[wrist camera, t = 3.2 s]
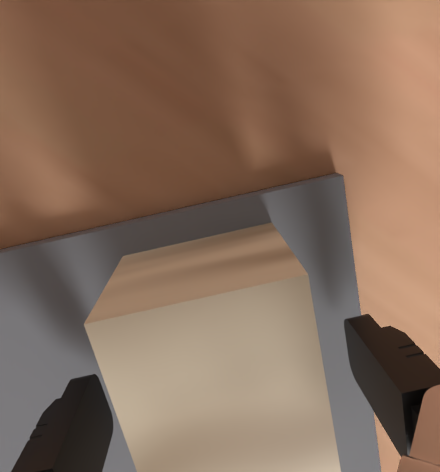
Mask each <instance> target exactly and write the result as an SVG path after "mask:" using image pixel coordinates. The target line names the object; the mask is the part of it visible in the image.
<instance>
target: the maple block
mask: <svg viewBox="0 0 440 472" xmlns="http://www.w3.org/2000/svg"><path fill="white" fill-rule="evenodd" d="M84 326H85V329H86V332H87V335H88V337H89V340H90V343H91V346H92V349H93V351H94V354H95V357H96V360H97V362H98V365H99V368H100V371H101V373H102V376H103V379H104V382H105V384H106V387H107V390H108V393H109V396H110V398H111V401H112V404H113V407H114V409H115V412H116V415H117V418H118V420H119V423H120V426H121V429H122V431H123V434H124V437H125V440H126V443H127V445H128V448H129V451H130V454H131V456H132V459H133V462H134V465H135V467H136V470H137V472H341V468H340V462H339V456H338V450H337V444H336V438H335V433H334V427H333V421H332V415H331V409H330V403H329V397H328V391H327V385H326V379H325V373H324V367H323V361H322V355H321V349H320V343H319V337H318V331H317V325H316V319H315V313H314V307H313V301H312V295H311V289H310V283H309V277H308V273H307V272H306V271H305V269H304V268H303V266H302V265H301V263H300V262H299V261H298V259H297V258H296V256H295V255H294V253H293V252H292V251H291V249H290V248H289V246H288V245H287V243H286V242H285V241H284V239H283V238H282V236H281V235H280V233H279V232H278V231H277V229H276V228H275V226H274V225H273V223H267V224H263V225H258V226H254V227H249V228H245V229H241V230H236V231H232V232H227V233H223V234H218V235H214V236H210V237H205V238H201V239H196V240H192V241H187V242H183V243H179V244H174V245H170V246H165V247H161V248H156V249H152V250H148V251H143V252H139V253H134V254H130V255H125V256H123V257H122V258H121V260H120V262H119V264H118V265H117V267H116V269H115V271H114V272H113V274H112V276H111V278H110V279H109V281H108V283H107V285H106V286H105V288H104V290H103V292H102V293H101V295H100V297H99V299H98V300H97V302H96V304H95V306H94V307H93V309H92V311H91V312H90V314H89V316H88V318H87V319H86V321H85V323H84Z"/></svg>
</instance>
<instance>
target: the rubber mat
mask: <svg viewBox="0 0 440 472" xmlns="http://www.w3.org/2000/svg"><path fill="white" fill-rule="evenodd" d="M267 223H273V225H274V226H275V228H276V229H277V231H278V232H279V233H280V235H281V236H282V238H283V239H284V241H285V242H286V243H287V245H288V246H289V248H290V249H291V251H292V252H293V253H294V255H295V256H296V258H297V259H298V261H299V262H300V263H301V265H302V266H303V268H304V269H305V271H306V272H307V273H308V277H309V283H310V289H311V295H312V301H313V307H314V313H315V319H316V325H317V331H318V337H319V343H320V349H321V355H322V361H323V367H324V373H325V379H326V385H327V391H328V397H329V403H330V409H331V415H332V421H333V427H334V433H335V438H336V444H337V450H338V456H339V462H340V468H341V472H381V466H380V459H379V451H378V443H377V435H376V428H375V420H374V412H373V409H372V407H371V406H370V404H369V402H368V401H367V399H366V397H365V396H364V394H363V392H362V391H361V389H360V387H359V386H358V384H357V382H356V380H355V378H354V376H353V373H352V370H351V367H350V363H349V357H348V350H347V343H346V336H345V329H344V320H345V319H347V318H352V317H356V316H361V311H360V303H359V295H358V288H357V280H356V272H355V264H354V257H353V249H352V241H351V233H350V225H349V218H348V210H347V202H346V194H345V187H344V179H343V175H341V174H338V173H335V174H330V175H326V176H321V177H317V178H313V179H308V180H304V181H299V182H295V183H291V184H286V185H282V186H277V187H273V188H269V189H264V190H260V191H255V192H251V193H247V194H242V195H238V196H233V197H229V198H225V199H220V200H216V201H211V202H207V203H202V204H198V205H194V206H189V207H185V208H180V209H176V210H172V211H167V212H163V213H158V214H154V215H150V216H145V217H141V218H136V219H132V220H128V221H123V222H119V223H114V224H110V225H106V226H101V227H97V228H92V229H88V230H84V231H79V232H75V233H70V234H66V235H62V236H57V237H53V238H48V239H44V240H40V241H35V242H31V243H26V244H22V245H18V246H13V247H9V248H4V249H0V472H11V471H12V469H13V467H14V465H15V464H16V462H17V460H18V458H19V456H20V454H21V452H22V450H23V449H24V447H25V445H26V443H27V441H28V440H30V438H29V437H30V436H31V434H32V432H33V430H34V429H36V424H37V423H38V421H39V419H40V417H41V415H42V413H43V412H44V411H45V410H46V409H47V408H48V407H49V406H50V405H51V404H52V402H53V401H54V400H55V399H58V398H61V397H62V395H63V393H64V391H65V389H66V387H67V385H68V383H69V381H70V380H71V379H74V378H78V377H83V376H87V375H92V374H96V375H97V376H98V378H99V380H100V382H101V385H102V388H103V390H104V393H105V396H106V399H107V401H108V404H109V407H110V410H111V413H112V416H113V435H112V438H111V442H110V445H109V449H108V453H107V456H106V460H105V463H104V467H103V471H102V472H137V470H136V467H135V465H134V462H133V459H132V456H131V454H130V451H129V448H128V445H127V443H126V440H125V437H124V434H123V431H122V429H121V426H120V423H119V420H118V418H117V415H116V412H115V409H114V407H113V404H112V401H111V398H110V396H109V393H108V390H107V387H106V384H105V382H104V379H103V376H102V373H101V371H100V368H99V365H98V362H97V360H96V357H95V354H94V351H93V349H92V346H91V343H90V340H89V337H88V335H87V332H86V329H85V326H84V323H85V321H86V319H87V318H88V316H89V314H90V312H91V311H92V309H93V307H94V306H95V304H96V302H97V300H98V299H99V297H100V295H101V293H102V292H103V290H104V288H105V286H106V285H107V283H108V281H109V279H110V278H111V276H112V274H113V272H114V271H115V269H116V267H117V265H118V264H119V262H120V260H121V258H122V257H123V256H125V255H130V254H134V253H139V252H143V251H148V250H152V249H156V248H161V247H165V246H170V245H174V244H179V243H183V242H187V241H192V240H196V239H201V238H205V237H210V236H214V235H218V234H223V233H227V232H232V231H236V230H241V229H245V228H249V227H254V226H258V225H263V224H267Z"/></svg>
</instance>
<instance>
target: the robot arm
mask: <svg viewBox="0 0 440 472" xmlns="http://www.w3.org/2000/svg"><path fill="white" fill-rule="evenodd" d="M344 329H345V336H346V343H347V350H348V357H349V363H350V367H351V370H352V373H353V376H354V378H355V380H356V382H357V384H358V386H359V387H360V389H361V391H362V392H363V394H364V396H365V397H366V399H367V401H368V402H369V404H370V406H371V407H372V409H373V411H374V412H375V414H376V416H377V417H378V419H379V421H380V422H381V424H382V426H383V427H384V429H385V431H386V432H387V434H388V436H389V437H390V439H391V441H392V442H393V444H394V446H395V447H396V449H397V451H398V452H399V454H400V456H401V460H400V463H399V467H398V470H397V472H440V369H439V368H438V367H437V366H436V365H435V364H434V362H433V361H432V360H431V359H430V358H429V357H428V356H427V355H426V354H424V353H423V351H422V350H421V349H420V348H419V347H418V346H416V345H415V343H414V342H413V341H412V340H411V339H410V338H409V337H408V336H407V335H406V333H404V332H402V331H400V330H398V329H396V328H393V327H391V326H387V327H383V328H381V327H380V326H379V325H378V324H377V323H376V322H375V320H374V319H373V318H372V317H371V316H370V315H369V314H365V315H361V316H356V317H352V318H347V319H345V320H344ZM112 435H113V416H112V413H111V410H110V407H109V404H108V401H107V399H106V396H105V393H104V390H103V388H102V385H101V382H100V380H99V378H98V376H97V375H96V374H92V375H87V376H83V377H78V378H74V379H71V380H70V381H69V383H68V385H67V387H66V389H65V391H64V393H63V395H62V397H61V398H58V399H55V400H54V401H53V402H52V404H51V405H50V406H49V407H48V408H47V409H46V410H45V411H44V412H43V413H42V415H41V417H40V419H39V421H38V423H37V424H36V429H34V430H33V432H32V434H31V436H30V437H29V438H30V440H28V441H27V443H26V445H25V447H24V449H23V450H22V452H21V454H20V456H19V458H18V460H17V462H16V464H15V465H14V467H13V469H12V471H11V472H102V471H103V467H104V463H105V460H106V456H107V453H108V449H109V445H110V442H111V438H112Z"/></svg>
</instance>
